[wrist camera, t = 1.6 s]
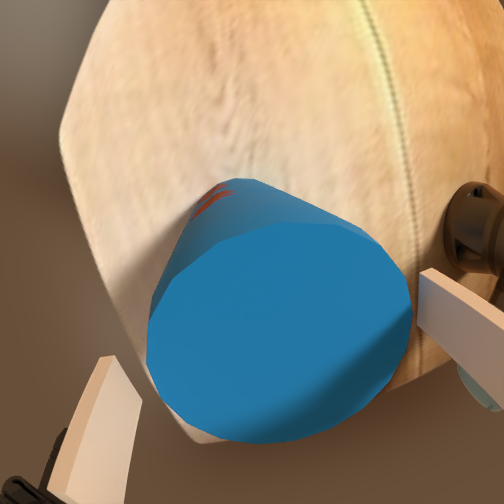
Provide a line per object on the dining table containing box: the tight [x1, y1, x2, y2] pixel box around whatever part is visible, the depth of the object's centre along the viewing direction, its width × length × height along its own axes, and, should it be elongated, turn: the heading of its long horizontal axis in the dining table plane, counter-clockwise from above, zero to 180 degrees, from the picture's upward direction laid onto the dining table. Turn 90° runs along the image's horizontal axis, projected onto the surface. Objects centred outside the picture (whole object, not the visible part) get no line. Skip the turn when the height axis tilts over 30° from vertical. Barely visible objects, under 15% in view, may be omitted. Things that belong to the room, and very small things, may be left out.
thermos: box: [146, 178, 413, 444], centre depth 22 cm, size 11×11×25 cm
